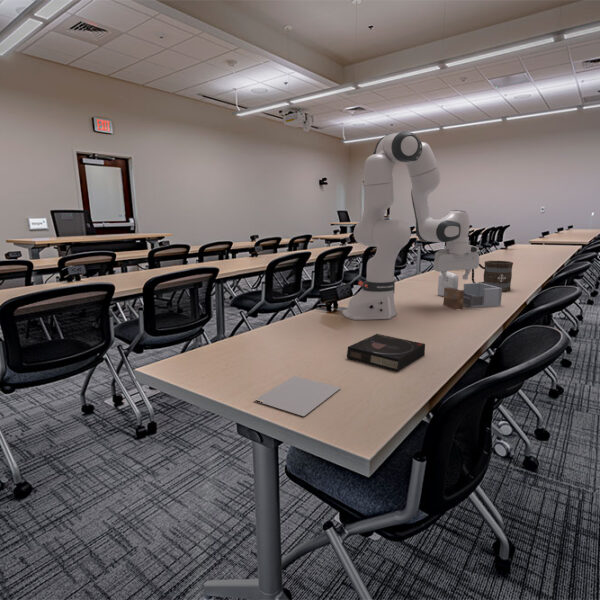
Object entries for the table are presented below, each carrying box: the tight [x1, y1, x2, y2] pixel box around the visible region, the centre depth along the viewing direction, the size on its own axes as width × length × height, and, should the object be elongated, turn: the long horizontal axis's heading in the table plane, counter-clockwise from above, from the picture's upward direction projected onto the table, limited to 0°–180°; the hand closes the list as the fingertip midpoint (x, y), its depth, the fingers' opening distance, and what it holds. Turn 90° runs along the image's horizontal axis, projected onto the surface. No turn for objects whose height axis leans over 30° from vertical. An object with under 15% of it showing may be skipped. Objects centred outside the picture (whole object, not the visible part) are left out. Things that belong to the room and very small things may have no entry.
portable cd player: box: [346, 333, 426, 373], centre depth 119 cm, size 16×17×4 cm
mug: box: [471, 260, 514, 294], centre depth 214 cm, size 20×14×15 cm
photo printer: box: [437, 271, 459, 297], centre depth 199 cm, size 10×4×12 cm, turn 28°
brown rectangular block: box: [442, 287, 464, 310], centre depth 178 cm, size 3×10×8 cm, turn 13°
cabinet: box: [460, 282, 503, 309], centre depth 184 cm, size 15×15×8 cm
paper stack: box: [256, 375, 341, 417], centre depth 102 cm, size 23×25×1 cm
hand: (455, 280), depth 177 cm, fingers open, 8 cm apart
